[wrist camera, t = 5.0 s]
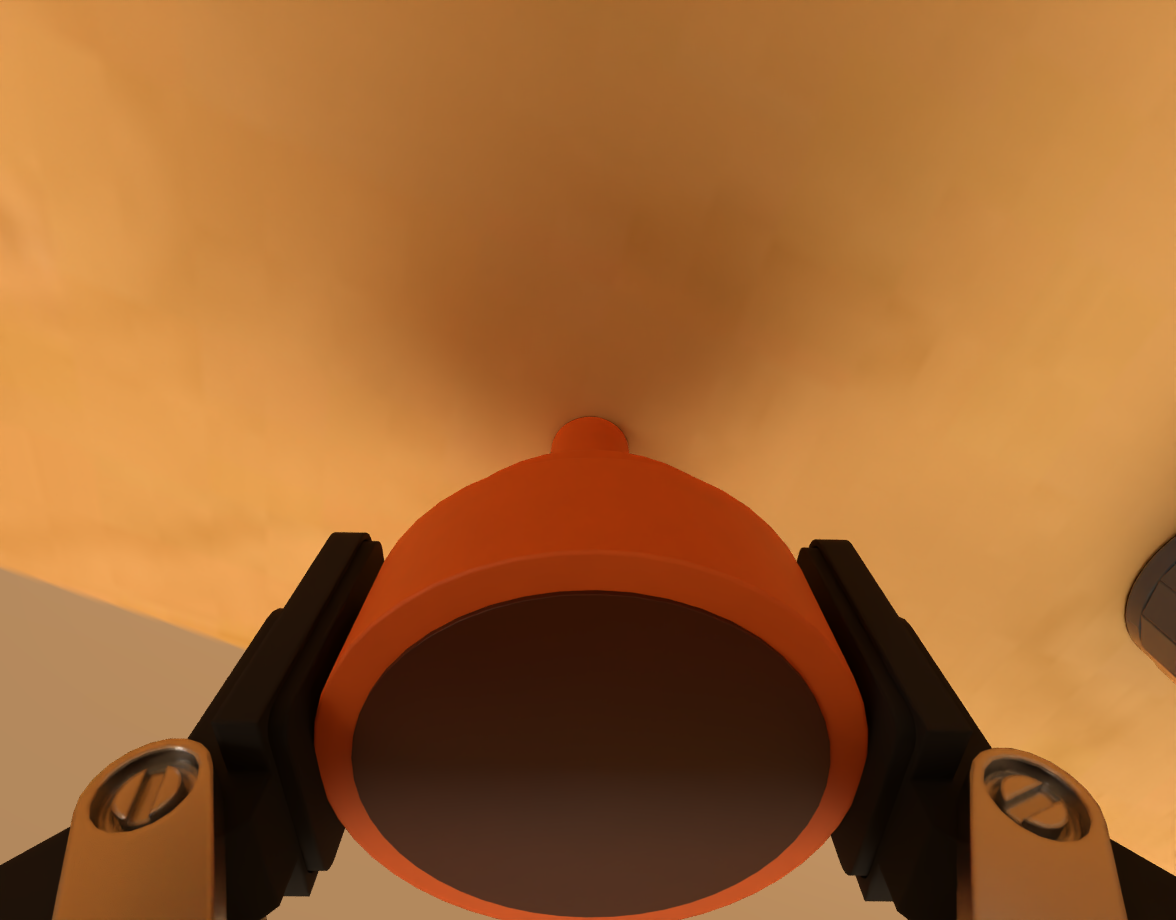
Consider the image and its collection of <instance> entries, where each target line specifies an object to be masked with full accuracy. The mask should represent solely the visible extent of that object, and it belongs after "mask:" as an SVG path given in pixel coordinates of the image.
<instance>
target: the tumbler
mask: <svg viewBox="0 0 1176 920" xmlns="http://www.w3.org/2000/svg"><path fill="white" fill-rule="evenodd" d="M1126 625H1127V628H1128V631H1129V634H1130V636H1131V638H1132V640H1133V641H1134V643H1135V644H1136V645H1137V646H1138V647H1139V648H1140V650H1141V651H1143V652H1144V653H1145V654H1146V655H1147V656H1148V657H1149V658H1150V659H1151V660H1152V661H1153V662H1154V663H1155V665H1156V666H1157V667H1158V668H1159V669H1160V670H1161V671H1162V672H1163V673H1164V674H1165V675H1166V676H1167V677H1168V678H1169V679H1171V680H1172V681H1173V682H1174V683H1175V684H1176V536H1175V537H1174V538H1172V539H1171V540H1170V541H1169V542H1168V543H1167V544H1165V545H1164V546H1163V547H1162V548H1161V549H1160V550H1159V551H1158V552H1157V553H1156V554H1155V555H1154V556H1153V557H1152V558H1151V560H1150V561H1149V562H1148V563H1147V564H1146V566H1145V567H1144V568H1143V570H1142V571H1141V572H1140V574H1139V576H1138V577H1137V579H1136V581H1135V583H1134V584H1133V587H1132V589H1131V592H1130V594H1129V597H1128V601H1127V605H1126Z"/></svg>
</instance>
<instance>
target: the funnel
mask: <svg viewBox="0 0 1176 920" xmlns="http://www.w3.org/2000/svg"><path fill="white" fill-rule="evenodd" d="M314 748H315V753H316V757H317V762H318V766H319V770H320V774H321V778H322V782H323V786H324V789H325V793H326V796H327V799H328V801H329V803H330V805H331V807H332V809H333V810H334V812H335V814H336V816H337V818H338V819H339V820H340V822H341V823H342V824H343V826H344V827H345V828H346V830H347V831H348V832H349V833H350V835H351V836H352V837H353V838H354V840H356V841H357V843H358V844H360V846H361V847H363V848H364V849H365V850H366V851H367V852H368V853H369V854H370V855H371V856H372V857H373V858H374V859H375V860H377V861H378V862H379V863H380V864H382V865H383V866H384V867H386V868H387V869H388V870H390V871H391V872H392V873H393V874H395V875H396V876H398V877H400V878H401V879H403V880H405V881H406V882H408V883H410V884H411V885H413V886H414V887H416V888H418V889H420V890H422V891H424V892H426V893H428V894H430V895H432V896H434V897H436V898H438V899H441V900H442V901H445V902H448V903H451V904H453V905H455V906H458V907H461V908H463V909H466V910H469V911H472V912H475V913H479V914H483V915H486V916H490V917H493V918H496V919H501V920H681V919H684V918H689V917H693V916H696V915H700V914H704V913H707V912H710V911H712V910H715V909H718V908H721V907H724V906H727V905H730V904H732V903H734V902H737V901H739V900H741V899H743V898H745V897H748V896H750V895H752V894H754V893H756V892H758V891H760V890H762V889H763V888H765V887H767V886H768V885H770V884H772V883H774V882H776V881H778V880H779V879H781V878H782V877H784V876H785V875H787V874H788V873H789V872H790V871H792V870H794V869H795V868H796V867H798V866H799V865H801V864H802V863H803V862H804V861H805V860H807V859H808V858H809V856H811V855H812V854H813V853H814V852H815V851H816V850H818V849H819V848H820V847H821V846H822V845H823V844H824V843H825V841H826V840H827V839H828V838H829V837H830V836H831V834H832V833H833V832H834V831H835V830H836V828H837V827H838V826H839V825H840V823H841V822H842V820H843V818H844V817H845V815H846V814H847V812H848V810H849V809H850V807H851V805H852V802H853V800H854V797H855V794H856V791H857V788H858V785H859V782H860V779H861V775H862V772H863V768H864V765H865V762H866V758H867V754H868V725H867V719H866V713H865V707H864V702H863V700H862V697H861V694H860V692H859V689H858V686H857V684H856V681H855V679H854V676H853V674H852V672H851V670H850V668H849V666H848V664H847V662H846V660H845V658H844V656H843V654H842V652H841V650H840V648H839V646H838V644H837V642H836V639H835V637H834V635H833V633H832V631H831V629H830V627H829V625H828V623H827V621H826V619H825V617H824V615H823V613H822V611H821V609H820V607H819V605H818V603H817V601H816V599H815V597H814V595H813V592H812V590H811V588H810V586H809V584H808V582H807V580H806V578H805V576H804V574H803V572H802V570H801V568H800V566H799V565H798V563H797V561H796V560H795V558H794V557H793V555H792V553H791V552H790V550H789V548H788V547H787V545H786V544H785V543H784V542H783V541H782V540H781V538H780V537H779V536H778V535H777V534H776V532H775V531H774V530H773V529H772V528H771V527H770V526H769V525H768V524H767V523H766V522H765V521H764V520H763V519H761V518H760V517H759V516H758V515H757V514H756V513H754V512H753V511H752V510H751V509H750V508H749V507H747V506H746V505H744V504H743V503H741V502H740V501H738V500H737V499H735V498H733V497H732V496H730V495H729V494H727V493H726V492H724V491H722V490H720V489H718V488H716V487H714V486H712V485H710V484H708V483H706V482H703V481H701V480H699V479H697V478H695V477H692V476H691V475H689V474H687V473H685V472H683V471H680V470H678V469H676V468H674V467H672V466H670V465H668V464H665V463H662V462H659V461H656V460H653V459H650V458H647V457H644V456H639V455H634V454H629V450H628V444H627V441H626V438H625V436H624V434H623V433H622V431H621V430H620V429H619V428H618V427H617V426H616V425H614V424H613V423H611V422H609V421H607V420H605V419H602V418H598V417H582V418H578V419H575V420H572V421H570V422H569V423H567V424H566V425H564V426H563V427H562V428H561V429H560V430H559V431H558V433H557V434H556V436H555V438H554V440H553V443H552V448H551V454H545V455H542V456H538V457H535V458H531V459H528V460H524V461H521V462H518V463H516V464H514V465H511V466H509V467H507V468H504V469H502V470H500V471H498V472H496V473H494V474H493V475H491V476H489V477H487V478H485V479H483V480H480V481H478V482H476V483H473V484H471V485H468V486H466V487H465V488H463V489H461V490H459V491H458V492H456V493H454V494H453V495H451V496H449V497H448V498H446V499H444V500H443V501H441V502H439V503H438V504H437V505H436V506H434V507H433V508H432V509H431V510H429V511H428V512H427V513H426V514H424V515H423V516H422V517H421V518H419V519H418V520H417V521H416V522H415V523H414V524H413V525H412V526H411V527H410V528H409V530H408V531H407V532H406V533H405V534H404V535H403V536H402V537H401V538H400V539H399V540H398V542H397V543H396V545H395V546H394V548H393V549H392V551H391V552H390V554H389V555H388V557H387V558H386V560H385V561H384V563H383V565H382V567H381V569H380V571H379V573H378V575H377V577H376V579H375V581H374V583H373V586H372V588H371V590H370V592H369V594H368V596H367V598H366V600H365V602H364V604H363V606H362V608H361V610H360V612H359V615H358V617H357V619H356V621H355V623H354V625H353V627H352V629H351V631H350V633H349V635H348V637H347V639H346V642H345V644H344V646H343V648H342V650H341V652H340V654H339V656H338V658H337V660H336V662H335V664H334V666H333V668H332V671H331V673H330V675H329V677H328V679H327V682H326V684H325V686H324V688H323V691H322V693H321V695H320V699H319V704H318V708H317V712H316V716H315V721H314Z"/></svg>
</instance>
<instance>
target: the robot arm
mask: <svg viewBox="0 0 1176 920" xmlns="http://www.w3.org/2000/svg"><path fill="white" fill-rule="evenodd" d="M383 563H384V557H383V550H382V545H381V543H380V542H379V541H372V540H371V537H370V535H369V534H368V533H348V532H335V533H332V534H331V536H330V537H329V538H328V540H327V541H326V543H325V545H324V546H323V548H322V549H321V551H320V552H319V554H318V555H317V557H316V559H315V560H314V562H313V563H312V565H311V566H310V568H309V569H308V571H307V573H306V574H305V576H304V577H303V579H302V580H301V582H300V583H299V585H298V587H297V588H296V590H295V591H294V593H293V594H292V596H291V598H290V599H289V601H288V602H287V604H286V605H285V607H284V608H279V609H277V610H275V611H273V612H272V613H271V614H270V616H269V617H268V618H267V619H266V621H265V622H264V624H263V625H262V627H261V628H260V630H259V631H258V633H257V634H256V636H255V637H254V639H253V640H252V642H251V643H250V645H249V647H248V648H247V650H246V651H245V653H244V654H243V656H242V657H241V659H240V660H239V662H238V663H237V665H236V666H235V668H234V669H233V671H232V672H231V674H230V676H229V677H228V678H227V680H226V681H225V683H224V684H223V686H222V687H221V689H220V690H219V692H218V693H217V695H216V696H215V698H214V699H213V701H212V702H211V704H210V706H209V707H208V708H207V710H206V711H205V713H204V714H203V716H202V718H201V719H200V721H199V722H198V724H197V725H196V727H195V728H194V730H193V731H192V733H191V734H190V736H189V737H188V739H166V740H161V741H157V742H152V743H149V744H147V745H144V746H142V747H139V748H137V749H135V750H133V751H130V752H128V753H127V754H125V755H124V756H122V757H120V758H119V759H117V760H116V761H114V762H112V763H111V764H109V765H108V766H107V767H106V768H105V769H104V770H103V771H101V772H100V773H99V774H98V775H97V776H96V777H95V778H94V779H93V780H92V781H91V782H90V783H89V785H88V786H87V787H86V789H85V790H84V792H83V793H82V794H81V795H80V797H79V800H78V803H77V805H76V807H75V810H74V812H73V817H72V821H71V826H70V827H69V828H67V829H65V830H63V831H62V832H60V833H58V834H56V835H54V836H52V837H51V838H49V839H47V840H45V841H43V842H42V843H40V844H38V845H36V846H34V847H32V848H31V849H29V850H27V851H25V852H24V853H22V854H20V855H18V856H16V857H14V858H13V859H11V860H9V861H7V862H5V863H4V864H2V865H0V920H267V919H266V915H268V914H269V913H270V912H272V911H273V910H274V909H276V908H277V907H278V906H279V905H280V903H281V900H282V898H283V896H310V893H311V890H312V888H313V885H314V882H315V880H316V877H317V874H318V871H327V870H328V869H329V868H330V867H331V865H332V863H333V861H334V858H335V855H336V853H337V850H338V847H339V844H340V841H341V838H342V835H343V833H344V829H345V827H344V826H343V824H342V823H341V822H340V820H339V819H338V818H337V816H336V814H335V812H334V810H333V809H332V807H331V805H330V803H329V801H328V799H327V796H326V793H325V789H324V786H323V782H322V778H321V774H320V770H319V766H318V762H317V757H316V753H315V748H314V721H315V716H316V712H317V708H318V704H319V699H320V695H321V693H322V691H323V688H324V686H325V684H326V682H327V679H328V677H329V675H330V673H331V671H332V668H333V666H334V664H335V662H336V660H337V658H338V656H339V654H340V652H341V650H342V648H343V646H344V644H345V642H346V639H347V637H348V635H349V633H350V631H351V629H352V627H353V625H354V623H355V621H356V619H357V617H358V615H359V612H360V610H361V608H362V606H363V604H364V602H365V600H366V598H367V596H368V594H369V592H370V590H371V588H372V586H373V583H374V581H375V579H376V577H377V575H378V573H379V571H380V569H381V567H382V565H383ZM797 563H798V565H799V566H800V568H801V570H802V572H803V574H804V576H805V578H806V580H807V582H808V584H809V586H810V588H811V590H812V592H813V595H814V597H815V599H816V601H817V603H818V605H819V607H820V609H821V611H822V613H823V615H824V617H825V619H826V621H827V623H828V625H829V627H830V629H831V631H832V633H833V635H834V637H835V639H836V642H837V644H838V646H839V648H840V650H841V652H842V654H843V656H844V658H845V660H846V662H847V664H848V666H849V668H850V670H851V672H852V674H853V676H854V679H855V681H856V684H857V686H858V689H859V692H860V694H861V697H862V700H863V702H864V707H865V713H866V719H867V725H868V754H867V758H866V762H865V765H864V768H863V772H862V775H861V779H860V782H859V785H858V788H857V791H856V794H855V797H854V800H853V802H852V805H851V807H850V809H849V810H848V812H847V814H846V815H845V817H844V818H843V820H842V822H841V823H840V825H839V826H838V827H837V828H836V830H835V831H834V832H833V833H832V834H831V837H832V840H833V843H834V846H835V849H836V852H837V854H838V858H839V860H840V863H841V865H842V868H843V870H844V871H845V873H846V874H847V875H856V878H857V881H858V883H859V886H860V889H861V892H862V894H863V897H864V900H865V901H893V902H894V904H895V907H896V909H897V911H898V912H899V913H900V914H902V915H903V916H904V917H906V918H907V919H908V920H1176V876H1174V875H1172V874H1170V873H1169V872H1167V871H1165V870H1163V869H1162V868H1160V867H1158V866H1157V865H1155V864H1153V863H1151V862H1150V861H1148V860H1146V859H1144V858H1143V857H1141V856H1139V855H1137V854H1136V853H1134V852H1132V851H1130V850H1129V849H1127V848H1125V847H1123V846H1122V845H1120V844H1118V843H1117V842H1115V841H1113V840H1111V839H1110V837H1109V833H1108V828H1107V823H1106V821H1105V819H1104V816H1103V814H1102V811H1101V809H1100V807H1099V805H1098V804H1097V803H1096V801H1095V800H1094V799H1093V797H1092V796H1091V795H1090V793H1089V792H1088V791H1087V790H1086V789H1085V788H1084V787H1083V786H1082V785H1081V784H1080V783H1079V782H1078V781H1077V780H1075V779H1074V778H1073V777H1072V776H1071V775H1070V774H1068V773H1067V772H1065V771H1064V770H1062V769H1061V768H1059V767H1058V766H1056V765H1055V764H1053V763H1051V762H1050V761H1047V760H1045V759H1043V758H1041V757H1038V756H1036V755H1034V754H1032V753H1029V752H1025V751H1021V750H1017V749H1013V748H991V746H990V745H989V743H988V742H987V740H986V739H985V737H984V736H983V734H982V733H981V731H980V730H979V728H978V727H977V725H976V724H975V722H974V721H973V719H972V717H971V716H970V714H969V713H968V711H967V710H966V708H965V707H964V705H963V704H962V702H961V701H960V699H959V698H958V696H957V695H956V693H955V692H954V690H953V689H952V687H951V686H950V684H949V683H948V681H947V680H946V678H945V677H944V675H943V674H942V672H941V671H940V669H939V668H938V666H937V665H936V663H935V662H934V660H933V659H932V657H931V656H930V654H929V653H928V651H927V650H926V648H925V647H924V645H923V643H922V642H921V640H920V639H919V637H918V636H917V634H916V633H915V631H914V630H913V628H912V627H911V626H910V624H909V623H908V622H907V621H906V620H905V619H903V618H901V617H899V616H898V615H897V613H896V612H895V610H894V609H893V607H892V606H891V604H890V602H889V601H888V599H887V598H886V596H885V595H884V593H883V592H882V590H881V589H880V587H879V586H878V584H877V582H876V581H875V579H874V578H873V576H872V575H871V573H870V572H869V570H868V569H867V567H866V566H865V564H864V562H863V561H862V559H861V558H860V556H859V555H858V553H857V552H856V550H855V549H854V547H853V546H852V544H851V543H850V542H849V541H847V540H819V539H815V540H813V541H812V542H811V544H810V546H809V548H801V550H800V552H799V555H798V560H797Z"/></svg>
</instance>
